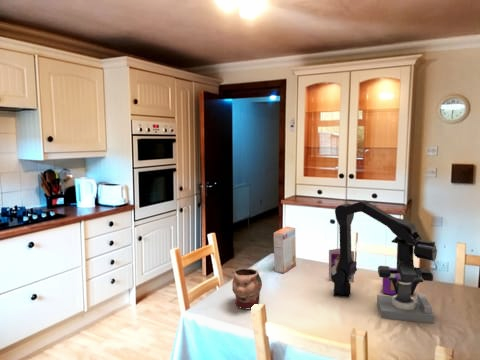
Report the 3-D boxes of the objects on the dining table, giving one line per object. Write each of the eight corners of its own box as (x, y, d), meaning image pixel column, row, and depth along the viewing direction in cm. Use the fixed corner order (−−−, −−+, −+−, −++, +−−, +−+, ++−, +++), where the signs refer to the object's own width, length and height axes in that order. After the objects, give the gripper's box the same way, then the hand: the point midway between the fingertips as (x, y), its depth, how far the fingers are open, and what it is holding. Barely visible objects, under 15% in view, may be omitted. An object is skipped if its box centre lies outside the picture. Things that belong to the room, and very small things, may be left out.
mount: (381, 318, 136) (381, 304, 135) (376, 301, 149) (377, 289, 149) (433, 323, 131) (434, 309, 131) (424, 305, 145) (425, 293, 144)
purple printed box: (328, 281, 171) (328, 250, 170) (328, 275, 179) (328, 246, 177) (353, 282, 169) (354, 251, 167) (352, 277, 176) (352, 247, 174)
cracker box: (286, 263, 197) (286, 226, 195) (296, 265, 194) (296, 227, 191) (273, 271, 186) (272, 231, 183) (283, 273, 182) (283, 233, 180)
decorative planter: (237, 292, 162) (236, 262, 160) (264, 293, 160) (264, 263, 158) (228, 313, 142) (227, 279, 140) (259, 315, 140) (258, 280, 138)
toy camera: (418, 298, 152) (419, 275, 150) (383, 296, 154) (384, 273, 153) (411, 288, 162) (412, 266, 161) (379, 286, 165) (379, 265, 164)
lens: (397, 301, 138) (398, 281, 137) (395, 296, 143) (396, 276, 142) (412, 303, 136) (413, 282, 136) (409, 297, 141) (410, 277, 140)
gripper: (381, 260, 132) (380, 301, 134) (438, 264, 128) (436, 306, 129) (378, 251, 143) (377, 289, 145) (430, 254, 138) (428, 293, 140)
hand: (403, 294), depth 139 cm, fingers closed on lens, 5 cm apart
